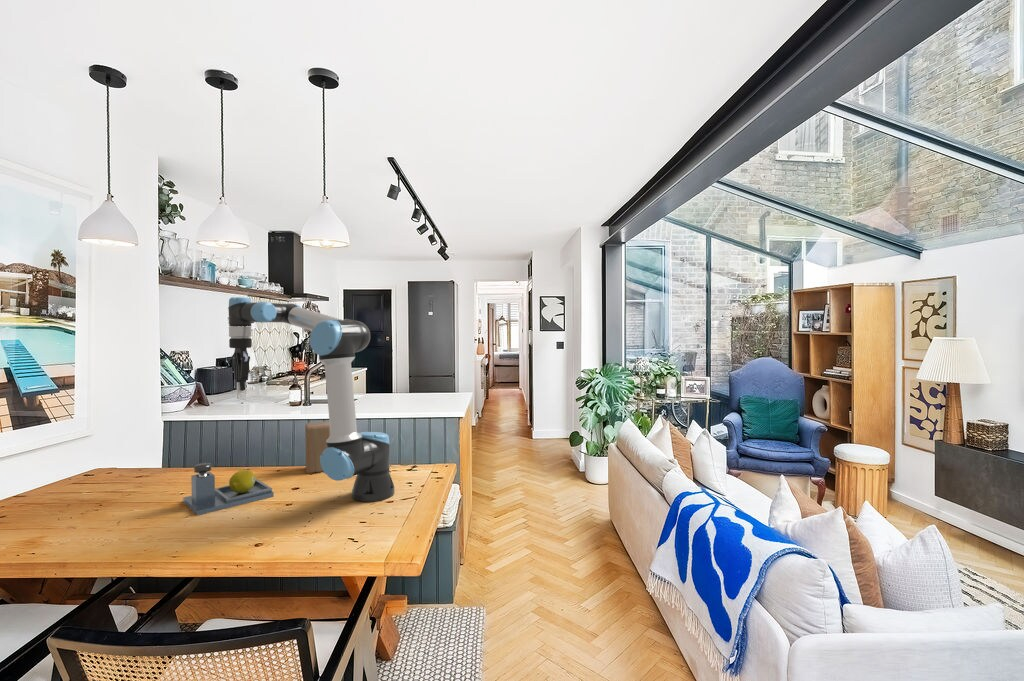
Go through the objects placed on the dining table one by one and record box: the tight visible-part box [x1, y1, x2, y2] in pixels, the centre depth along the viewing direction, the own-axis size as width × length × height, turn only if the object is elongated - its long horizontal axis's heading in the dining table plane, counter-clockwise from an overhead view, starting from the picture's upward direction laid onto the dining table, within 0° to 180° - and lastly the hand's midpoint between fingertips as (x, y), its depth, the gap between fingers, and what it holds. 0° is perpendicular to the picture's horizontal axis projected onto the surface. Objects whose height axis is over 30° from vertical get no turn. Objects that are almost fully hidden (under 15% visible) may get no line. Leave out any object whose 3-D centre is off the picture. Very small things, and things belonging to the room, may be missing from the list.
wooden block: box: [304, 421, 331, 474], centre depth 206 cm, size 10×10×20 cm
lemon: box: [228, 469, 256, 493], centre depth 174 cm, size 11×8×8 cm
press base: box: [182, 471, 275, 516], centre depth 171 cm, size 18×24×10 cm
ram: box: [193, 462, 212, 477], centre depth 165 cm, size 5×5×10 cm
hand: (241, 398), depth 183 cm, fingers closed
